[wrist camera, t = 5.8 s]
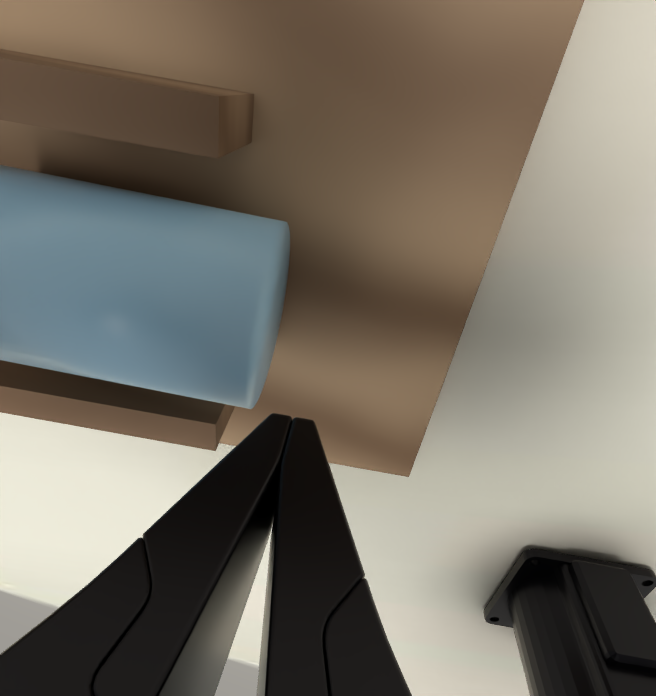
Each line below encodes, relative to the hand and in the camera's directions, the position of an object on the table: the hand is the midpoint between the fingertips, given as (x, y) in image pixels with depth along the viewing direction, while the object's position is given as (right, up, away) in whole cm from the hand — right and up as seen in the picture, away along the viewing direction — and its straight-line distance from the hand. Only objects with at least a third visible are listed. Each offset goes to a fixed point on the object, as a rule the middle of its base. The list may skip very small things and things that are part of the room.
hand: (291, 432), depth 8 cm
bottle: (-1, +3, +4) cm, 4 cm away
